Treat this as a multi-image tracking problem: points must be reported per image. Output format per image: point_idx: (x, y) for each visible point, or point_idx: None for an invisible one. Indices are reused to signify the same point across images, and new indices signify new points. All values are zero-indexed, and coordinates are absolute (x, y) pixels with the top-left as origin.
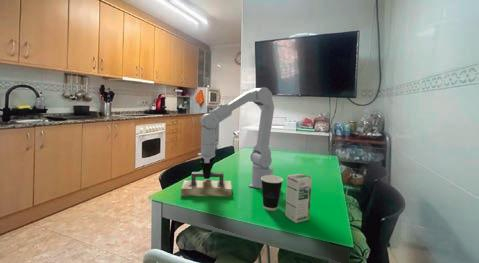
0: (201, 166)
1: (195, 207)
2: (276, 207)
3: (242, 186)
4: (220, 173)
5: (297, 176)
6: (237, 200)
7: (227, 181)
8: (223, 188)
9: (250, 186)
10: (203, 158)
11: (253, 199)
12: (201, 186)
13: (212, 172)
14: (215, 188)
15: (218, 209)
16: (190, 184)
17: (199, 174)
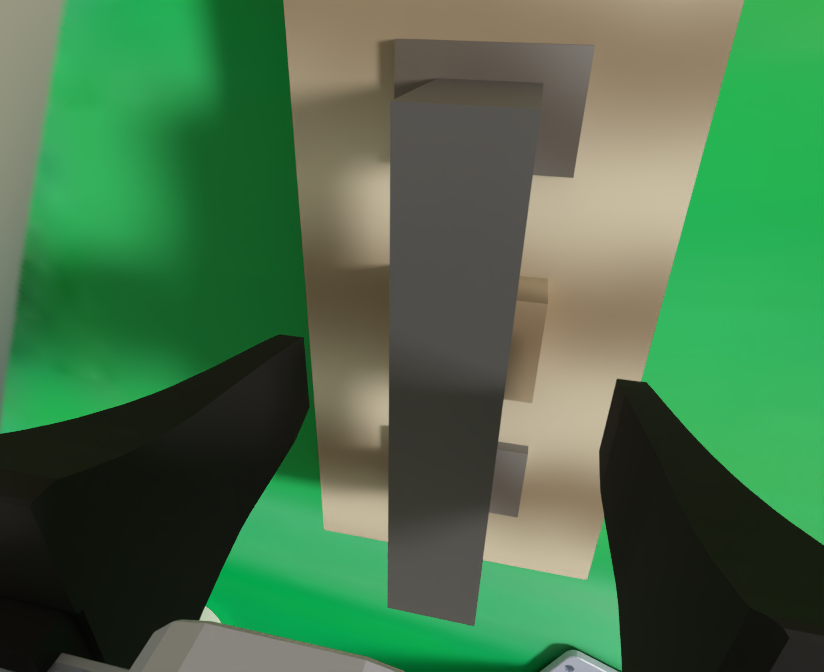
0: (25, 432)
1: (55, 147)
2: None
3: (595, 609)
4: (424, 584)
5: None
6: (266, 495)
7: (569, 549)
8: (332, 469)
9: (559, 658)
10: (720, 634)
11: (298, 588)
12: (389, 240)
13: (480, 501)
14: (327, 397)
15: (78, 341)
16: (435, 60)
17: (390, 277)
